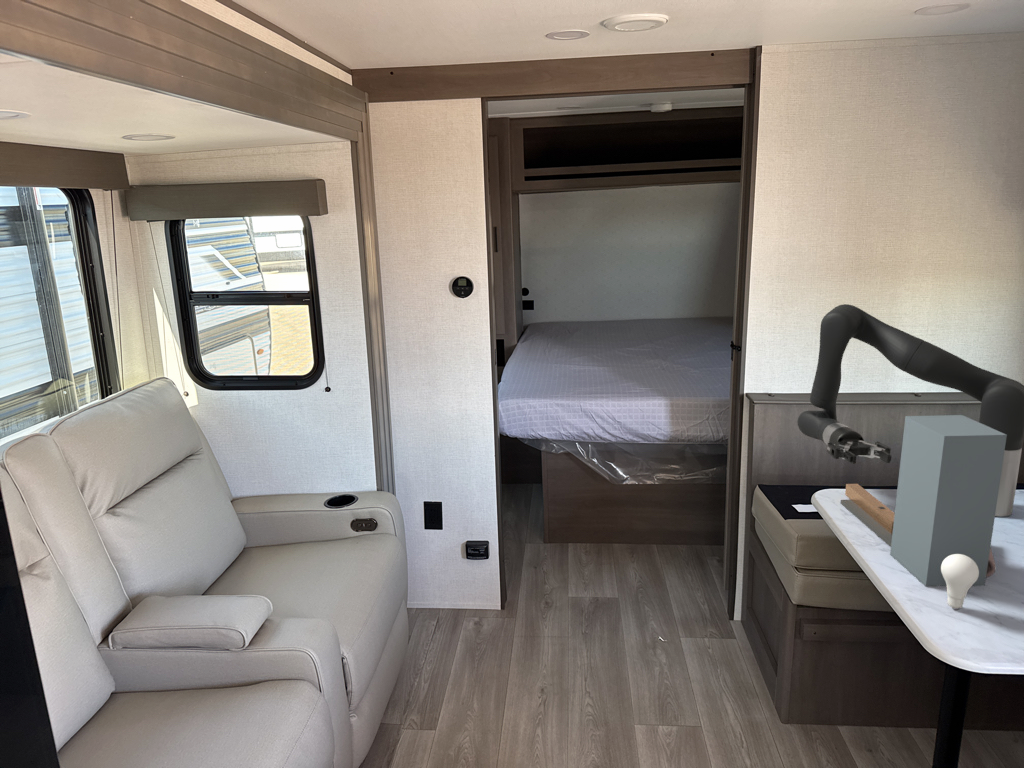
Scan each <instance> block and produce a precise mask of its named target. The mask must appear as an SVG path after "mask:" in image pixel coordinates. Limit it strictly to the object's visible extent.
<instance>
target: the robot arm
mask: <svg viewBox="0 0 1024 769" xmlns="http://www.w3.org/2000/svg"><path fill="white" fill-rule="evenodd" d="M819 329H820V330H819V348H818V350H819V351H818V358H817V365H816V369H815V370H816V371H815V375H814V379H813V383H812V388H811V392H810V397H809V401H810V404H811V405H812V406H814V407H816V408H818V409H821V410H805V411H802V412H801V413H800V414H799V415H798V417H797V421H796V422H797V423H796V424H797V426H798V427H797V428H798V429H799V431H800V432H801V433H802V434H803V435H805V436H807V437H810V438H813V439H815V440H818V441H821V442H822V443H824V444H825V445H826V446H827V448H826V449H827V450H826V452H827V454H828V455H830V456H831V457H832V458H833V459H835V460H839V459H840V458H841V459H842V460H845V461H847V462H848V463H850V464H852V465H853V464H854V465H855V464H856V463H857V456H858V457H865V458H869V459H874V458H876V459H879V460H881V461H883V462H884V463H886V464H890V463H891V461H892V454H891V451H892V448H891V447H889V446H888V445H885V444H884V443H882V442H880V441H875V443H874V444H873V443H869V442H867V441H866V440H865V439H864V438H863V435H861V434H860V433H859V432H858V431H856V430H854V429H852V428H851V427H849V426H848V425H846V424H843V423H841V422H840V421H838V418H837V400H838V395H839V392H840V387H841V384H842V382H841V381H842V361H843V358H844V353H845V351H846V349H847V347H848V344H849V342H850V340H851V339H855V340H857V341H860V342H863V343H864V344H867V345H869V346H870V347H872V348H874V349H876V350H877V351H878V352H879V353H880V354H882V355H883V357H884V358H886V360H888V361H889V362H890V363H891V364H892V365H893V366H894V367H895V368H897V369H898V370H900V371H903V372H905V373H907V374H908V375H911V376H913V377H915V378H916V379H919V380H921V381H924V382H927V383H930V384H934V385H937V386H941V387H945V388H948V389H954V390H956V391H959V392H961V393H964V394H966V395H968V396H970V397H971V398H973V399H975V400H977V401H979V402H980V410H979V419H978V422H979V423H981V424H984V425H986V426H988V427H990V428H993V429H995V430H997V431H999V432H1002V433H1004V434H1006V435H1007V437H1006V444H1005V451H1004V458H1003V464H1002V471H1001V478H1000V485H999V492H998V499H997V505H996V512H995V517H1001V518H1002V517H1009V516H1012V514H1013V511H1014V510H1013V509H1014V502H1015V495H1016V490H1017V483H1018V476H1019V471H1020V463H1021V458H1022V449H1023V445H1024V444H1023V443H1024V385H1023V383H1021V382H1019V381H1018V380H1015V379H1012V378H1009V377H1006V376H1003V375H1001V374H997V373H995V372H992V371H989V370H986V369H984V368H981V367H978V366H977V365H975V364H972V363H971V362H969V361H966V360H965V359H963V358H961V357H959V356H957V355H955V354H954V353H951V352H949V351H947V350H945V349H943V348H941V347H939V346H938V345H935V344H933V343H931V342H928V341H926V340H924V339H921V338H920V337H917V336H915V335H912V334H910V333H908V332H905V331H903V330H901V329H899V328H896V327H895V326H893V325H892V326H891V325H889V324H887V323H886V322H883V321H881V319H878V318H876V317H875V316H873V315H871V314H869V313H868V312H866V311H865V310H863V309H862V308H859V307H857V306H855V305H853V304H849V303H848V304H844V303H843V304H839V305H837V306H834V308H832V309H830V310H829V311H828V312H827V313H826V314H825V315H824V316H823V317H822V319H821V323H820V328H819ZM877 453H878V454H877Z"/></svg>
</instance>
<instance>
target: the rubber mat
mask: <svg viewBox="0 0 1024 769" xmlns="http://www.w3.org/2000/svg"><path fill="white" fill-rule="evenodd" d="M840 504H841V506H843V507H844V508H845V509H847V511H849V513H851V514H852V515H853V516H854V517H855V518H856V519H858V520H859V521H860V522H861V523H862V524H864V525H865V526H866V527H867V528H868V529H869V530H870V531H871V532H873V534H875V535H876V536H877V537H878V538H879V539H880V540H882V541H883V542H884V543H885V545H886V544H887V546H888V547H890V548H891V542H892V534H891V533H890V532H888V531H887V530H886V529H885V528H884V527H883V526H881V525H880V524H879V523H878V522H877V521H876V520H874V519H873V518H872V517H871V516H870V515H868V514H867V513H866V512H865V511H864V510H863V509H861V508H860V507H859V506H858V505H857V504H856V503H854V502H853V501H852V500H851V499H840Z"/></svg>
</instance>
